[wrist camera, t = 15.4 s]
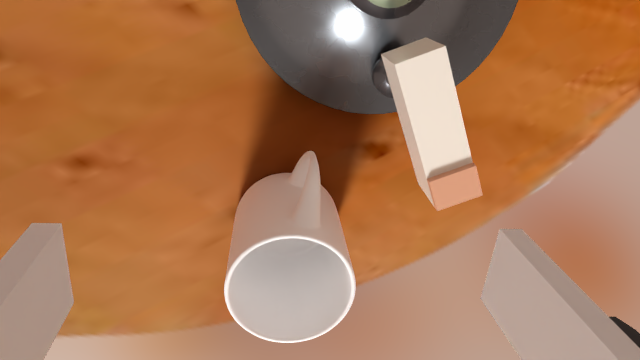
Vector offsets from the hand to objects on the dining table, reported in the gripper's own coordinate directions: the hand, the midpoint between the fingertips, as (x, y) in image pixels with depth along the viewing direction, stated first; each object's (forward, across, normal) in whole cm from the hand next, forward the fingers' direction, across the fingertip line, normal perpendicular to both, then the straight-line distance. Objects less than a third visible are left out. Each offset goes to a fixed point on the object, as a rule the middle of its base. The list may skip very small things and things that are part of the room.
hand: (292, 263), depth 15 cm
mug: (+24, +2, -10) cm, 26 cm away
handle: (+21, +9, 0) cm, 23 cm away
